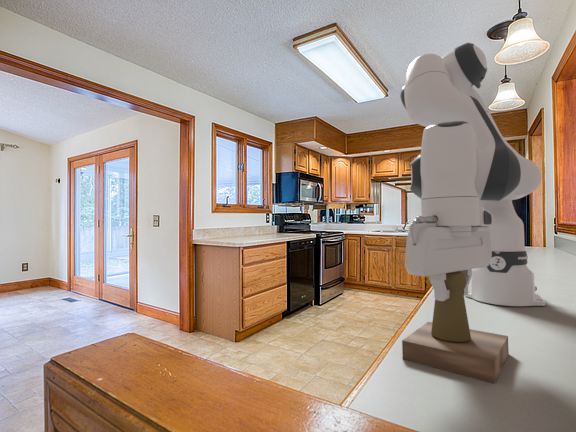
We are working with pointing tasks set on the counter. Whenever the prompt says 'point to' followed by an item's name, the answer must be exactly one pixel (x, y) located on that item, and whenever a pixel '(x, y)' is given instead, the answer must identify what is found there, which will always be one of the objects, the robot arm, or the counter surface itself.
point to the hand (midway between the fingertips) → (451, 297)
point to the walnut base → (458, 353)
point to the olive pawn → (452, 311)
